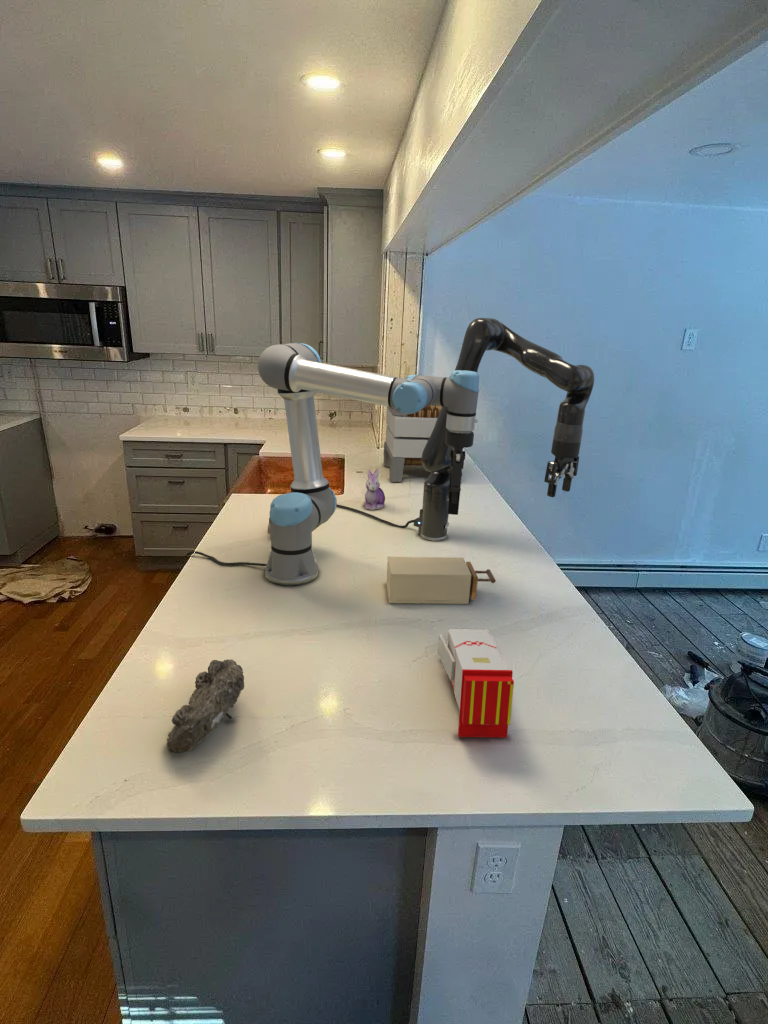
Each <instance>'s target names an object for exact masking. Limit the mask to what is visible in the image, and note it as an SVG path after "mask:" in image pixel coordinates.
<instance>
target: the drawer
mask: <svg viewBox="0 0 768 1024" xmlns="http://www.w3.org/2000/svg"><path fill="white" fill-rule="evenodd" d="M465 562H466V564H467V567H468V569H469V571H470V573H471V584H470V593H469V599H470V600H473V601H474V600H477V599H476V598H477V589H478V582H490V583H491V584H495V583H496V581H497V580H496V578H495V577H494V574H493V572H492V571H491V569H490V568H487V569H486V570H475V568H474V566H473V563H472V561H465ZM478 574H484V575H485V574H486V576H487V578H479V576H478Z"/></svg>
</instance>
